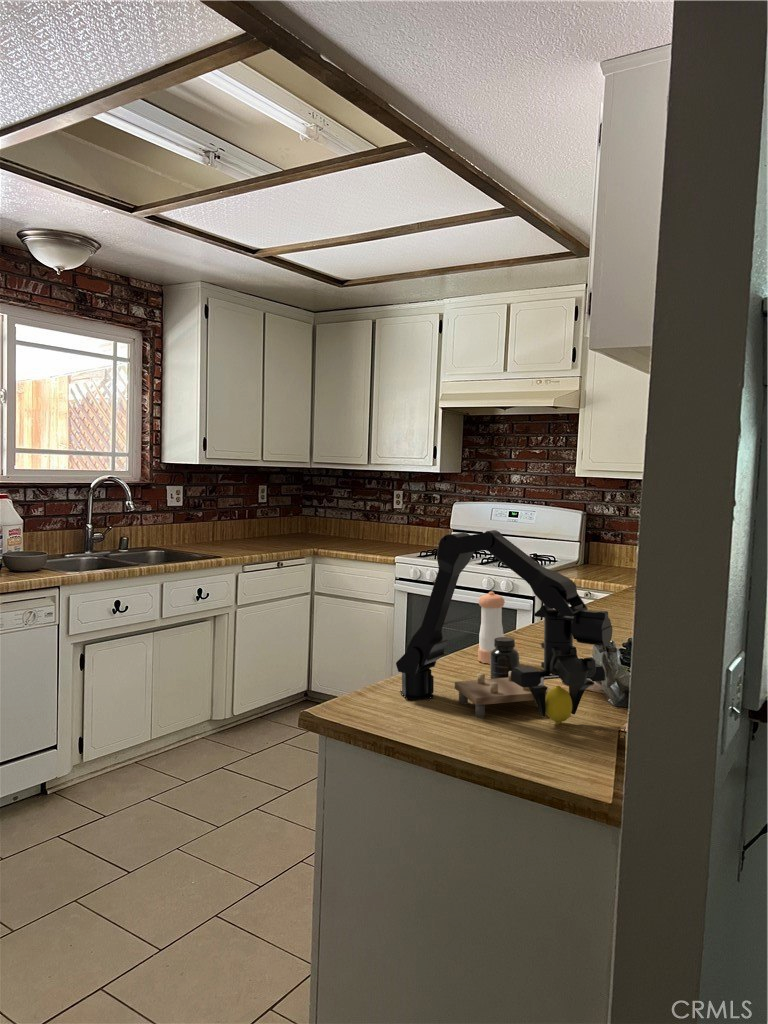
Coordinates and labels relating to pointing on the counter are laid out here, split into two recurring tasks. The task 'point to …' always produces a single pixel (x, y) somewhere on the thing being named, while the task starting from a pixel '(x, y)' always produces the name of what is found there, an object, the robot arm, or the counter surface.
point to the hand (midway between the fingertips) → (558, 715)
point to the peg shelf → (491, 692)
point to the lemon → (558, 704)
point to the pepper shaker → (489, 624)
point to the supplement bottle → (503, 657)
